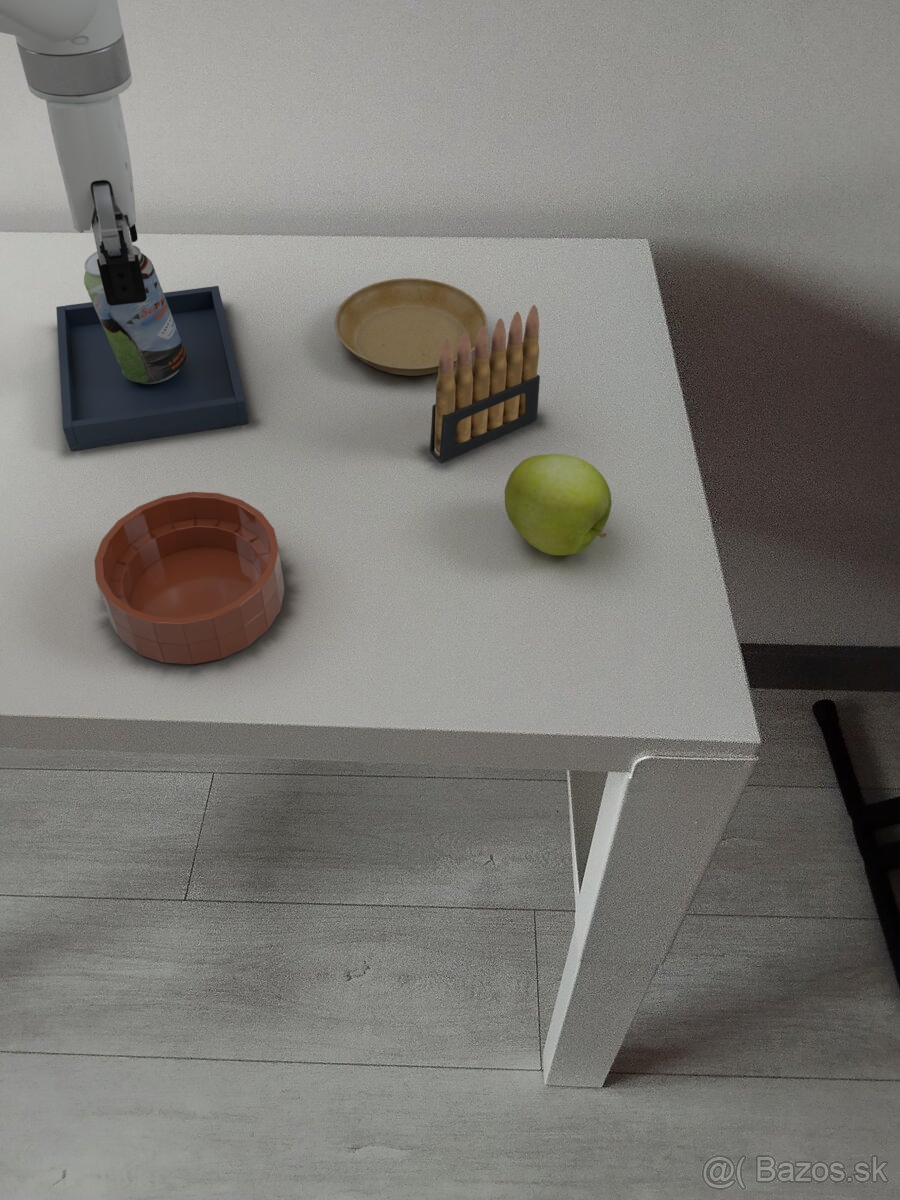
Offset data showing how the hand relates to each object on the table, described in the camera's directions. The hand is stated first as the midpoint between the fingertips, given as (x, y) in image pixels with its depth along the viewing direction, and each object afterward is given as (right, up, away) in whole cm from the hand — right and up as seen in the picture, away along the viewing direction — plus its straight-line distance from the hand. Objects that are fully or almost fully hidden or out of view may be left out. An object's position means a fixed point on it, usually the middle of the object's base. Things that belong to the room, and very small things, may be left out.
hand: (123, 270), depth 89 cm
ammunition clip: (+31, -14, +4) cm, 34 cm away
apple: (+37, -24, -4) cm, 44 cm away
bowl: (+9, -28, -9) cm, 31 cm away
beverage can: (0, -7, +8) cm, 11 cm away
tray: (0, -7, +9) cm, 11 cm away
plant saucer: (+24, -3, +13) cm, 28 cm away
